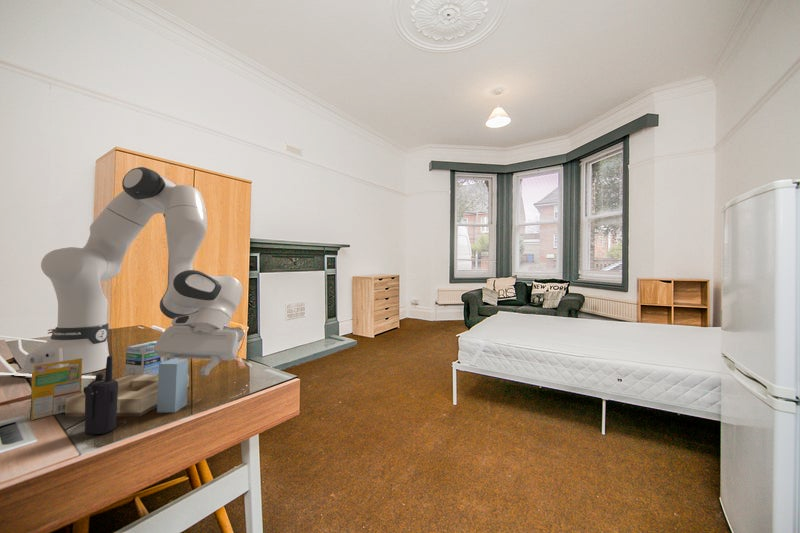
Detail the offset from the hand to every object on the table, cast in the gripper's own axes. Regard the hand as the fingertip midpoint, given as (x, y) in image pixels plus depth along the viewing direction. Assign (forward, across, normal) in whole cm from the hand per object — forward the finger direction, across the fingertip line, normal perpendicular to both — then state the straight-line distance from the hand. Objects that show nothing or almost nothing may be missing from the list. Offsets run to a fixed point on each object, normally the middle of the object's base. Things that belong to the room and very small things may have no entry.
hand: (184, 373), depth 75 cm
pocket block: (+6, +11, -4) cm, 13 cm away
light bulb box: (-4, +18, -16) cm, 25 cm away
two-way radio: (+15, +6, +7) cm, 18 cm away
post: (+8, -1, -1) cm, 8 cm away
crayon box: (+10, +23, 0) cm, 25 cm away
